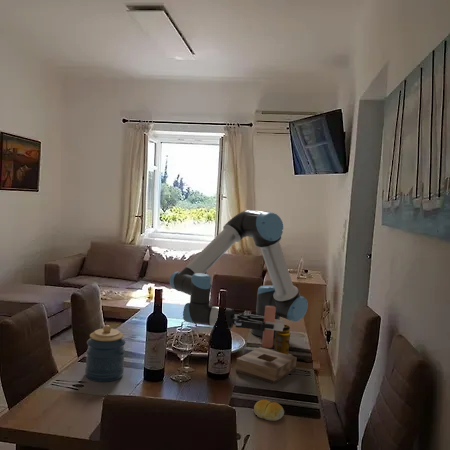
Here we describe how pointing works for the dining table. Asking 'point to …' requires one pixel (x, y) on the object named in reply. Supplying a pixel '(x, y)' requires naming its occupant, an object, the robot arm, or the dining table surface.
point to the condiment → (282, 340)
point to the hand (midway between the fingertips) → (283, 325)
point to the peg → (268, 334)
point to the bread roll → (268, 410)
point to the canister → (105, 355)
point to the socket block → (266, 364)
